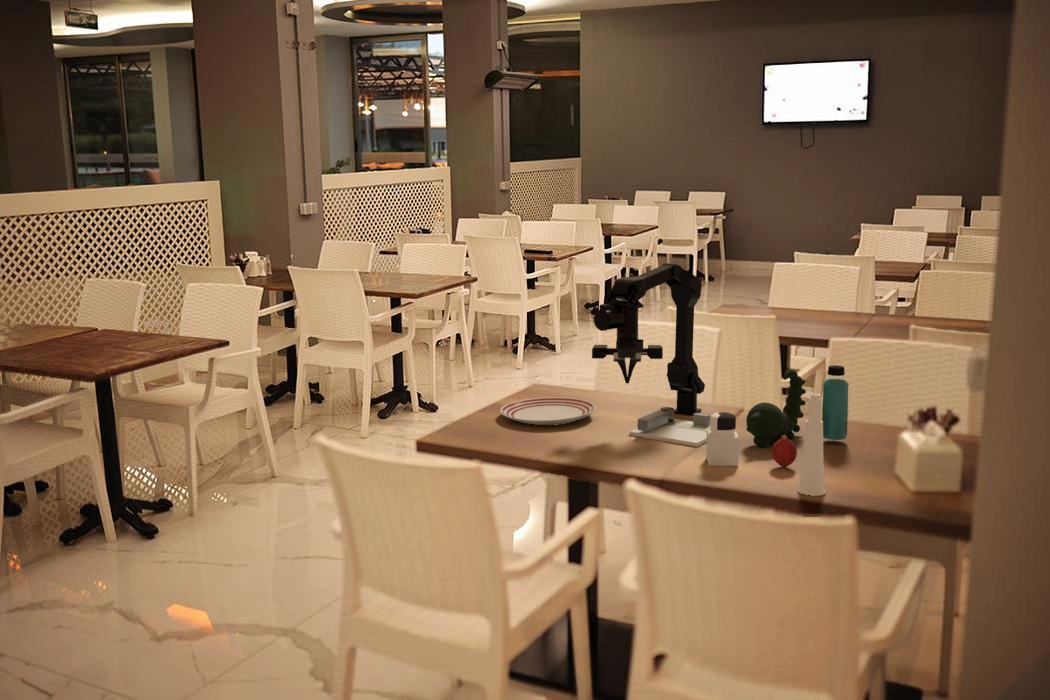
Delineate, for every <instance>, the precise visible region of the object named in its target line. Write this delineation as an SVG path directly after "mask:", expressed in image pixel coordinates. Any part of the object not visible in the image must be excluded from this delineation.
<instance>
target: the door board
mask: <svg viewBox="0 0 1050 700" xmlns="http://www.w3.org/2000/svg"><path fill="white" fill-rule="evenodd" d="M710 416H711V414H707V413H700V412H698V413H695V414H693V415H692V417H693V418H692V419H693V421H690V420H684V419H678V418H674V421H671V422H668V423H666V424H664V425H661V426H659V427H657V428H655V429H652V430H650V431H648V432H647V431H641V430H638V427H636V428H634V429H632V430H630V431H629V436H632V435H633V436H634V437H638V436H639V437H640V438H645V439H649V438H650V439H651V440H656V441H662V442H666V443H673V444H677V445H678V444H679V445H685V446H689V447H690V446H691V447H696V448H697V447H700V446H702V445H704V444H707V430H710ZM639 437H638V438H639ZM650 439H649V440H650Z"/></svg>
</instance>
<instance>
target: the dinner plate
mask: <svg viewBox="0 0 1050 700" xmlns="http://www.w3.org/2000/svg"><path fill="white" fill-rule="evenodd" d="M596 409H597V407H596V404H595V403H593V402H591V401H589V400H586V399H582V398H581V399H580V398H575V397H559V396H558V397H557V396H555V397H554V396H550V397H549V396H548V397H537V398H536V397H534V398H527V399H521V400H517V401H513V402H509V403H507V404H505V405H503V406H502V407H501V408H500V409H499V413H500V415H501V416H503V417H506V418H507V419H510V420H513V421H516V422H518V423H519V422H520V423H522V424H525V423H528V424H527V425H530V424H536V425H535V426H538V425H555V424H563V425H565V424H564V423H568V424H570V423H569V422H572V421H575V422H576V420H577V421H578V420H581V419H583V418H586V417H588V416H591V415H592V414H593V413H594V412H595V411H596ZM572 423H573V422H572ZM555 426H556V425H555Z"/></svg>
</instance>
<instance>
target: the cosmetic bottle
mask: <svg viewBox="0 0 1050 700" xmlns="http://www.w3.org/2000/svg"><path fill="white" fill-rule="evenodd" d="M821 395H822V394H820V393H810V394H809V398H808V400H807V401H808V404H807V406H808V407H807V419H806V420H805V425H804V435H803V436H804V437H803V445H802V446H803V447H802V459H801V468H800V475H799V482H798V485H797V489H796V491H797V492H798V493H799V494H801V495H803V494H805V495H804V496H808V495H810V496H809V497H820V496H824V495H825V494H826V493H827V489H826V481H825V473H824V472H825V471H824V469H825V468H824V438H823V421H822V420H821V419H822V405H823V399H821Z"/></svg>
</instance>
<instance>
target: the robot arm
mask: <svg viewBox="0 0 1050 700" xmlns="http://www.w3.org/2000/svg"><path fill="white" fill-rule="evenodd" d="M663 284H666V285H667V287H668V288H670V296H671V299H672V301H673V303H674V305H675V306H676V307H675V309H676V311H675V312H676V315H675V338H674V339H675V340H674V341H675V342H674V343H675V345H674V357H673V359H672V360H671V362H668V363H667V364H666V367H667V372H666V377H667V381H668V384H669V385H668V386H669V389H670V391H675V392H676V408H675V409H674V412H675V413H674V414H681V415H688V416H693V414H695V413H700V412H701V411H703V410H702V408H698V394H699V395H700V394H702V393H704V391H705V388H706V387H705V386H706V384H705V383H704V382H703V380H702V378H701V377H700V375H699V367H698V365H697V363H696V361H695V359H694V357H693V355H694V354H693V351H694V325H695V323H694V321H695V306H696V305H697V303H698V302H699V301H700V299H701V293H702V286H703V285H702V284H703V283H702V280H701V279H700V278H699V277H698V276H697V275H694V274H693V273H692V272H690V271H688V270H686V269H684V268H683V267H682V266H681V265H679V264H677V263H668V262H666V263H662V264H661V265H660V266H657V267H656V268H653V269H650V270H649V271H647V272H644V273H642V274H638V275H636V276H626V277H621V278H620V277H619V278H617V279H616V280H615V281H613V285H612V287H611V288H610V289H611V290H610V292H609V294H608V296H607V298H606V300H605V302H604V303H603V304H599V309H598V310H597V311H596V312H595V313H594V316H593V323H594V324H593V325H594V326H595V327H596V329H597V330H599V331H602V332H604V331H610V330H614V329H615V330H616V342H615V347H608V344H594V345H593V346H592V348H591V359H601V360H603V359H605V358H606V357H607V356H613V359H612V360H613V362H617V364H618V366H619V368H620V370H621V373H622V376H623V379H624V381H625V384H630V381H631V378H632V374H633V371H634V369H635V367H636V365H637V363H641V362H642V356H647V357H648V358H649V359H650V360H662V359H664V358H663V355H664V353H663V351H664V350H663V349H664V347H663V346H662V345H661V344H648V345H647V347H645V348H644V339H641V338H639V309H642V308H644V304H643V303H642V302H641V301H639V300H641V299H643V297H645V296H646V293H647V292H648V291H649V290H652V289H653V288H655V287H658V286H660V285H663ZM626 359H629V362H628V363H629V365H628V370H627V363H626V362H627V361H626Z"/></svg>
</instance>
